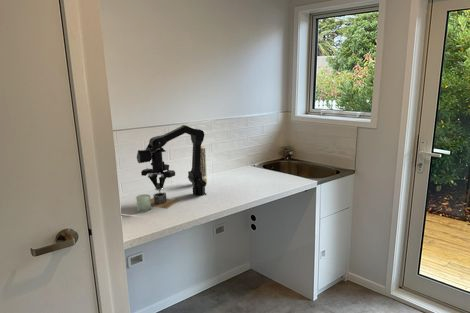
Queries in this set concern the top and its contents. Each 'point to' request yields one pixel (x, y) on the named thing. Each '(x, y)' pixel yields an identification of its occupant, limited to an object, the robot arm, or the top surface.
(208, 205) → the top surface
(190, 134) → the robot arm
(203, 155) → the paper tube
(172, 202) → the walnut board
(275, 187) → the top surface
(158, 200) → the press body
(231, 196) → the top surface
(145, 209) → the sage mug
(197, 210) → the top surface
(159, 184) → the plunger
